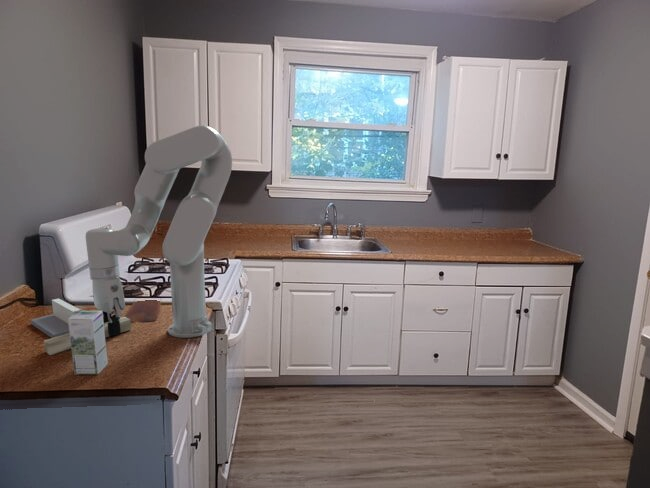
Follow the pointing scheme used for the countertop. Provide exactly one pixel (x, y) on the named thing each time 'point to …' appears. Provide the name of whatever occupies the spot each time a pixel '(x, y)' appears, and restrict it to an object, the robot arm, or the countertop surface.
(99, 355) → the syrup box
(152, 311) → the wooden tablet
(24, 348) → the countertop surface
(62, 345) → the birch beam
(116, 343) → the countertop surface
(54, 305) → the stand
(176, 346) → the countertop surface
